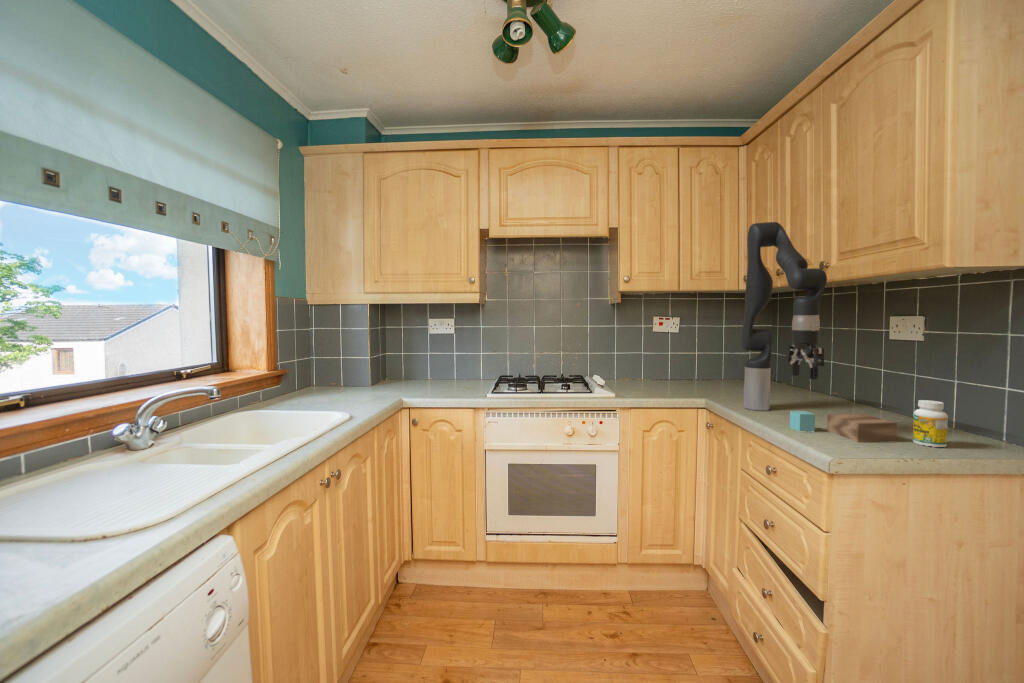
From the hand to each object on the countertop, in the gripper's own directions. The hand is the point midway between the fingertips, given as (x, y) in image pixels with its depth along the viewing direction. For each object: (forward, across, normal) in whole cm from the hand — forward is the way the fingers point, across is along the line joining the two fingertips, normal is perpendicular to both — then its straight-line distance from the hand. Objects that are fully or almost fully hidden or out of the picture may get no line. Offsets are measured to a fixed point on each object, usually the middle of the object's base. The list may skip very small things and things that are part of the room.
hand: (804, 377), depth 140 cm
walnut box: (+18, +8, +13) cm, 24 cm away
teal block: (+18, 0, 0) cm, 18 cm away
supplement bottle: (+18, +17, +26) cm, 36 cm away
